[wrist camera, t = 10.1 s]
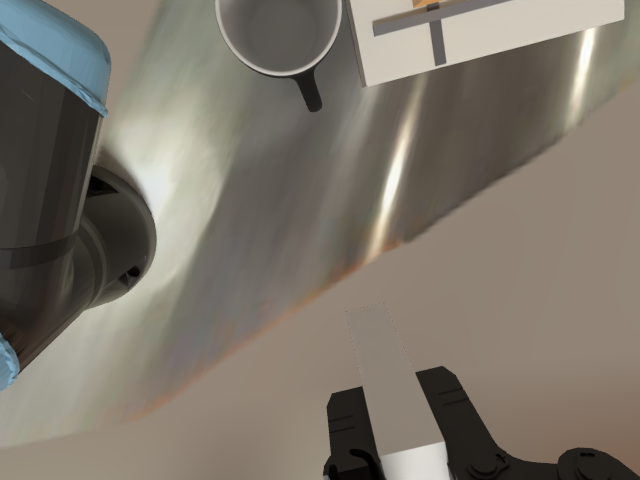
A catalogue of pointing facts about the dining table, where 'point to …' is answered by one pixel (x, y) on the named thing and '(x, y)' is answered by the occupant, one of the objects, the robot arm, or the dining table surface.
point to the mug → (282, 37)
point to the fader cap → (423, 2)
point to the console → (460, 30)
